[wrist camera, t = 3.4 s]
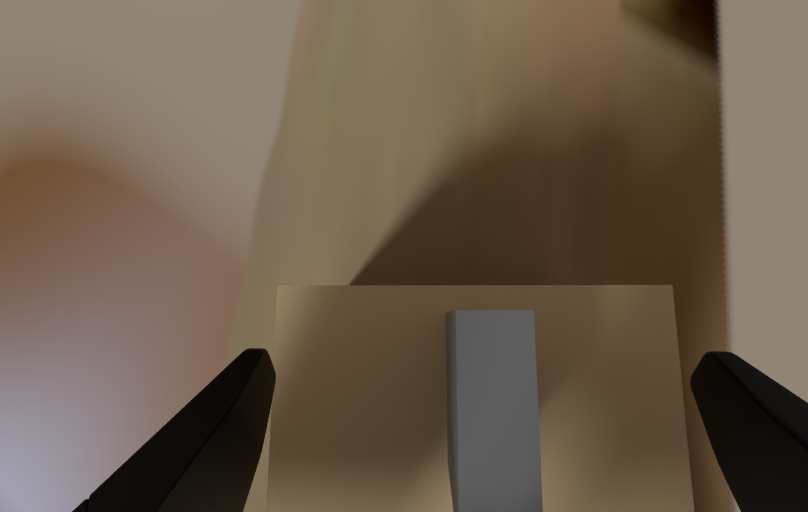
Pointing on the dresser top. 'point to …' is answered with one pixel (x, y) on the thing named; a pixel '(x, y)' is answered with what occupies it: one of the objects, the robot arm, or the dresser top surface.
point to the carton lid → (478, 400)
